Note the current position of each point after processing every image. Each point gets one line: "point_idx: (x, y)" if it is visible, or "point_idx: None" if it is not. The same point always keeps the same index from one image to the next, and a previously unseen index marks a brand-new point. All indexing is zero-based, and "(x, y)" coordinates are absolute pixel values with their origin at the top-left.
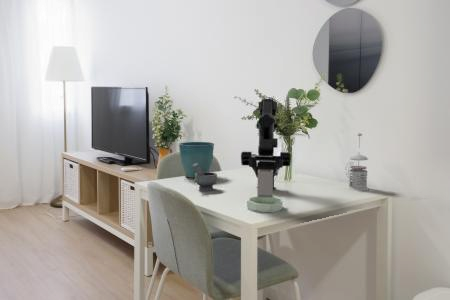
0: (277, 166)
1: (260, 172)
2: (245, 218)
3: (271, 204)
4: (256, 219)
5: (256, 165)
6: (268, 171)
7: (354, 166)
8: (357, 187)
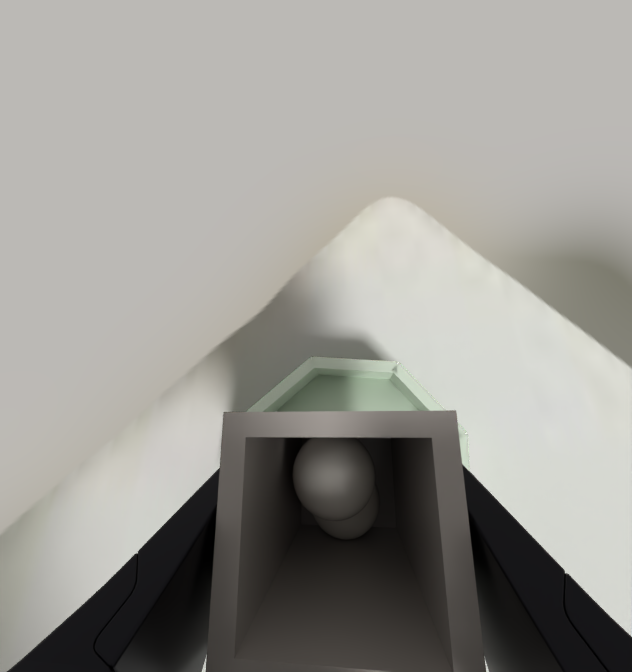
0: (92, 598)
1: (408, 411)
2: (427, 254)
3: (306, 360)
4: (376, 248)
5: (562, 640)
6: (289, 429)
7: None
8: None
